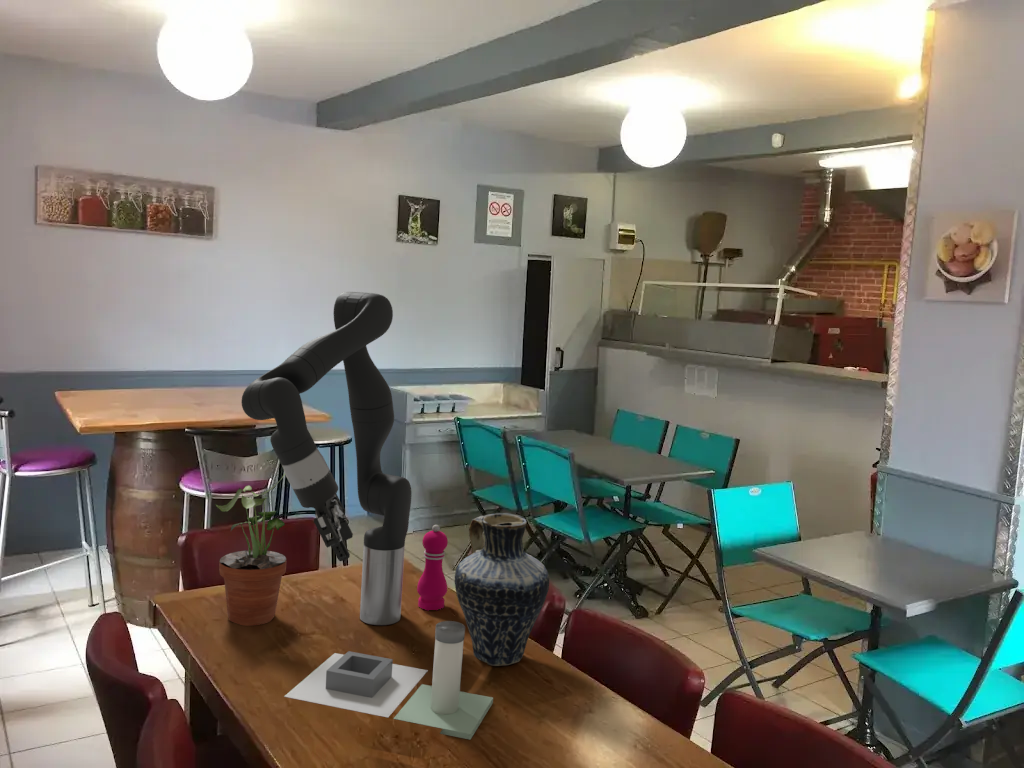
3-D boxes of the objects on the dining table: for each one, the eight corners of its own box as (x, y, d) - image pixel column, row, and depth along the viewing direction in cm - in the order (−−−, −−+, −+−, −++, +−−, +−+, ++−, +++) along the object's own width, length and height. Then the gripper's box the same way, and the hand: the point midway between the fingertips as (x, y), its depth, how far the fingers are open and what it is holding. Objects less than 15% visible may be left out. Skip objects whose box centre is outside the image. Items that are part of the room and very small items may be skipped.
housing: (334, 657, 169) (335, 636, 169) (427, 675, 165) (429, 653, 164) (283, 701, 150) (284, 677, 150) (387, 722, 145) (389, 698, 145)
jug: (562, 662, 175) (573, 521, 172) (497, 689, 161) (508, 536, 158) (491, 630, 189) (500, 500, 186) (426, 653, 175) (435, 512, 172)
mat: (421, 689, 159) (422, 684, 158) (492, 702, 155) (493, 697, 155) (393, 723, 145) (393, 718, 145) (470, 739, 142) (470, 734, 142)
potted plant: (273, 600, 198) (280, 454, 195) (292, 623, 185) (300, 467, 182) (204, 608, 190) (210, 456, 186) (219, 633, 177) (225, 470, 174)
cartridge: (435, 698, 153) (441, 619, 152) (462, 704, 152) (468, 624, 150) (425, 711, 148) (431, 629, 147) (453, 717, 147) (459, 634, 145)
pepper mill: (441, 613, 197) (446, 530, 195) (411, 609, 198) (416, 526, 196) (449, 603, 204) (454, 522, 202) (421, 599, 205) (426, 519, 204)
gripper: (324, 483, 149) (362, 558, 154) (331, 455, 163) (366, 524, 168) (285, 499, 149) (325, 574, 154) (296, 470, 163) (331, 539, 168)
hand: (346, 548), depth 161 cm, fingers open, 8 cm apart
